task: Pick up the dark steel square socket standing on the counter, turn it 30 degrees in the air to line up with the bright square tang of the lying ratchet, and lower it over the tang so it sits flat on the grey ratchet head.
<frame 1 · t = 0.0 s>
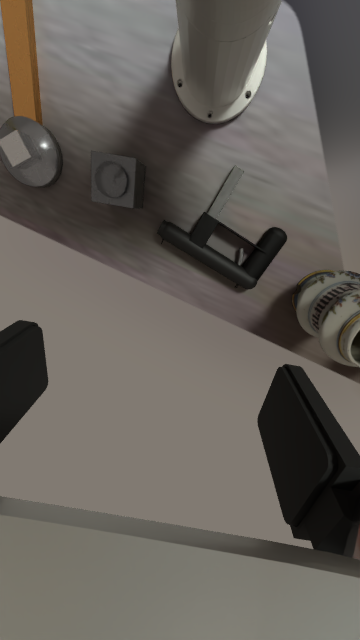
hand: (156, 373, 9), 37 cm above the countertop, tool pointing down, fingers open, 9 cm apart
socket: (125, 184, 39), on the countertop
door handle: (226, 227, 41), on the countertop
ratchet: (35, 155, 38), on the countertop
apothecary jar: (318, 295, 45), on the countertop
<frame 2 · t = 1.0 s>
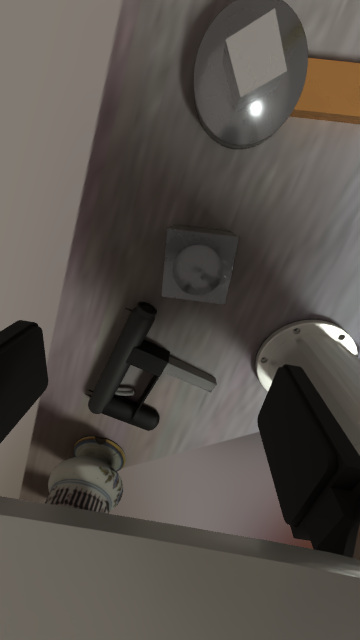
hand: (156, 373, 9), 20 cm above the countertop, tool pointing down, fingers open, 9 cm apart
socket: (198, 256, 27), on the countertop
door handle: (155, 372, 36), on the countertop
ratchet: (245, 87, 21), on the countertop
apothecary jar: (100, 453, 44), on the countertop
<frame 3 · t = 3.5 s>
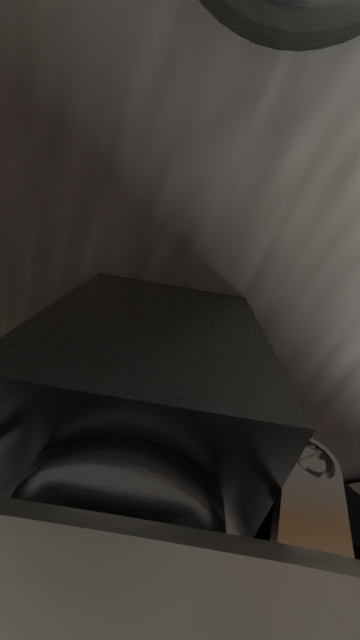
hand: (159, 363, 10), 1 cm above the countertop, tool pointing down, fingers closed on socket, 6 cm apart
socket: (163, 348, 11), on the countertop, touching gripper
when the fingers open (4 cm above the countertop, at t = 8.7 s): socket drops 1 cm, resting on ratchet.
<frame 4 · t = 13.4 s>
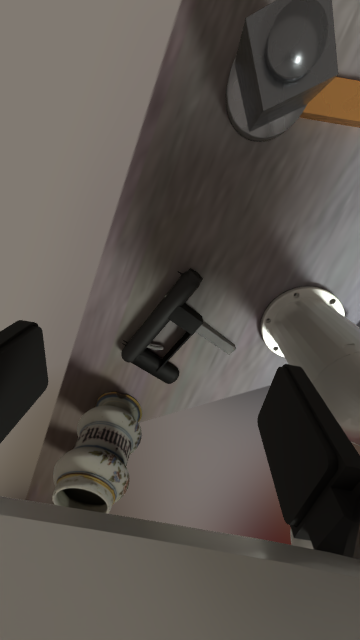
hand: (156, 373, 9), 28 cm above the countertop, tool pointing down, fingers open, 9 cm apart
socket: (270, 85, 25), point 2 cm above the countertop, touching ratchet
door handle: (184, 333, 41), on the countertop
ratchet: (265, 93, 27), on the countertop, touching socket
apothecary jar: (119, 408, 50), on the countertop
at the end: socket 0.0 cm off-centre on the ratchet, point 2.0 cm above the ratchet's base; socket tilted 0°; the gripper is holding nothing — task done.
